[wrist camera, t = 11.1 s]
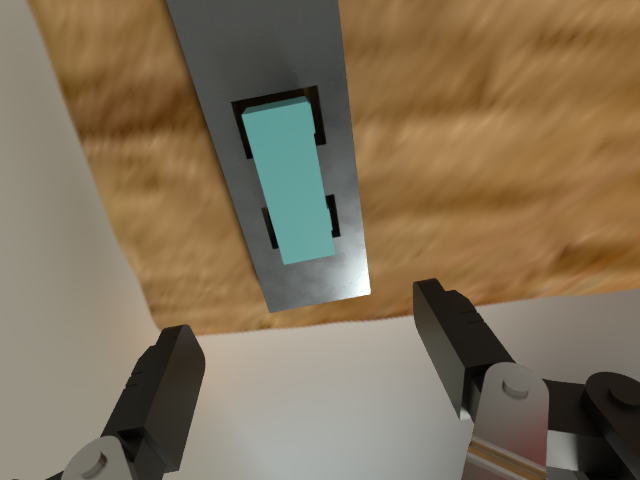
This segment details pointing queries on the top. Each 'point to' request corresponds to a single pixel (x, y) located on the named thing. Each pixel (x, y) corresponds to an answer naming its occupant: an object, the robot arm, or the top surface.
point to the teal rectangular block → (291, 177)
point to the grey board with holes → (231, 142)
